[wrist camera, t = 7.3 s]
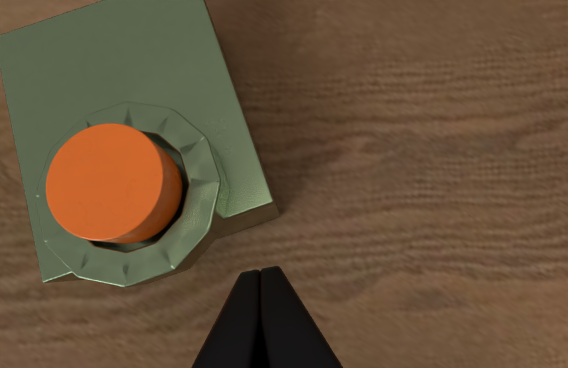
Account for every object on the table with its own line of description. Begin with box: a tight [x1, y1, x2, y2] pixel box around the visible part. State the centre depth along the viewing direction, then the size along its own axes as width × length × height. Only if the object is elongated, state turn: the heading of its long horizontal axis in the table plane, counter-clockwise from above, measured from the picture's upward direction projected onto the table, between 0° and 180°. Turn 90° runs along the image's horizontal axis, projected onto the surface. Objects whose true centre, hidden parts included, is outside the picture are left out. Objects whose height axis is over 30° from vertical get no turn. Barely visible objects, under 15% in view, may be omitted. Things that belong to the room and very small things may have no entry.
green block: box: [0, 0, 280, 287], centre depth 18 cm, size 13×10×7 cm
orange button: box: [46, 123, 182, 244], centre depth 13 cm, size 4×4×2 cm
